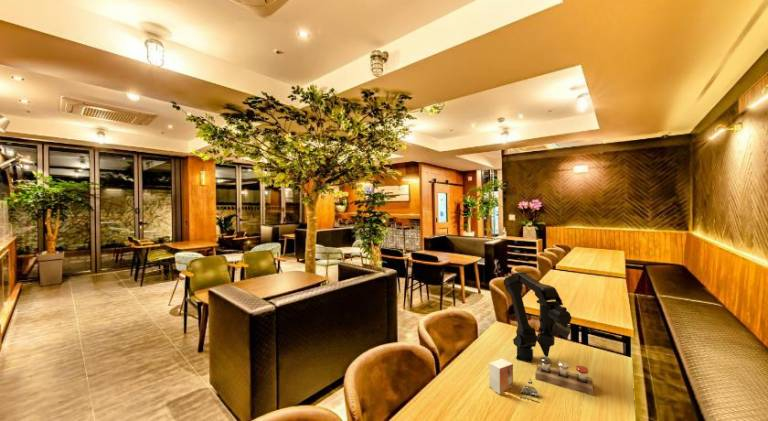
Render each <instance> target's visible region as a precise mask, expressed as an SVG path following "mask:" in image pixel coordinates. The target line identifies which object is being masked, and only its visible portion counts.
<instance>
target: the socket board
mask: <svg viewBox="0 0 768 421" xmlns="http://www.w3.org/2000/svg"><path fill="white" fill-rule="evenodd" d="M534 374H535V378H534V379H535V380H536V381H540V382H543V383H546V384H550V385H553V386H557V387H561V388H564V389H568V390H571V391H573V392H574V391H575V392H579V393H583V394H585V395H589V396H594V386H593V385H594V383H593V382H594V381H593V380H594V379H593V377H591V376H587V384H586V383H582V382H578V373H576V372H571V371H568V379H567V378H564V377H560V376H559V368H557V367H551V366H550V374H549V373H545V372H542V363H541V364H540V363H538V364H537V367H536V370H535V373H534Z"/></svg>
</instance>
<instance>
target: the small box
mask: <svg viewBox="0 0 768 421" xmlns="http://www.w3.org/2000/svg"><path fill="white" fill-rule="evenodd" d="M513 367H514V363H512V362H510V361H508V360H506V359H504V358H500V359H496V360H494V361H491V362H488V368H489V369H488V370H489V371H488V376H489V378H488V379H489V380H488V382H489V383H488V384H489V387H488V388H489V389H491V390H492V391H494V392H495V393H497V394H498V395H502V394H504V393H507V391H506V390H508V389H510V388H512V387H514V368H513Z"/></svg>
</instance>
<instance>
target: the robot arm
mask: <svg viewBox="0 0 768 421" xmlns="http://www.w3.org/2000/svg"><path fill="white" fill-rule="evenodd" d="M503 285H504V288H505V290H506V292H507V293H508V294H509V295H510V298H511V302H512V306H513V310H514V314H515V318H516V323H517V327H516V332H515V333H516V336H515V337H514V338H513V339H512V342H513V345H514V346H516V357H515V359H516V360H519V361H523V362H527V363H532V361H533V359H534V349H533V348H535V347H536V344H538V346H539V347H540V348H541V351H542V353H543V355H544V357H547V358H549V353H550V350H551V347H553V346H554V345H555V341H556V340H555V336H554V335H556V334H557V335H559V336H561V337H562V338H564V339H568V338H569V337H570V334H571V332H572V331H571V328H570V326H568V325H569V324H570V323H571V321H572V315H571V313H570V312H569V311H567V310H568V309H567V307H565V306H564V303H563V300H562V299H561V297H560V295H559V293H558V290H557V289H556V287H554V286H551V285H549V284H544V283H541V282H539V280H537V279H535V278H533V277H532V276H530V275H529V274H528V273H527V272H526V271H519V272H515V273H514V274H512V275H509V276H507V277H505V278H504V279H503ZM523 285H524V286H526V287H527V288H529V289H530V290H531V291H532V292H533V293H534V295H535V297H537V300H536V303H537V304H539V318H538V321H539V327H538V328H539V329H538V331H540V332H539V333H536V328H535V327H532V326H531V325H530V324H529V323H530V322H529V319H528V315H527V313H526V312H527V311H526V308H525V304H524V301H523V297H522V296H523V295H522V292H523V289H524V286H523Z"/></svg>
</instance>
